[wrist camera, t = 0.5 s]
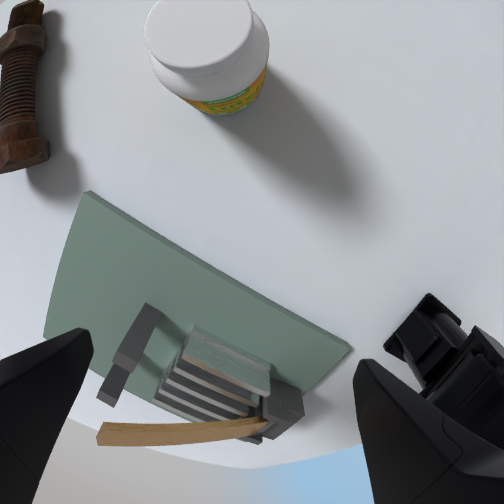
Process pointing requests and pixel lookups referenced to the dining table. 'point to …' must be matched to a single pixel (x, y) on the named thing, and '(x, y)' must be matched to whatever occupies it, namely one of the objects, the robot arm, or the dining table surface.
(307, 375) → the board
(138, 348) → the lug fork
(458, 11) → the dining table surface
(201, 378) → the heatsink
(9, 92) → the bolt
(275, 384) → the block
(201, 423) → the brown long flat bar
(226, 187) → the dining table surface
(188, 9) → the supplement bottle
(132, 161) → the dining table surface
